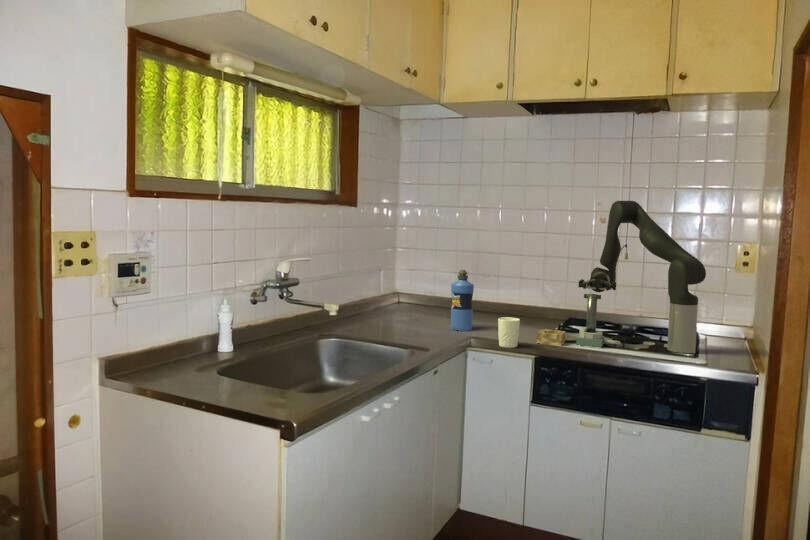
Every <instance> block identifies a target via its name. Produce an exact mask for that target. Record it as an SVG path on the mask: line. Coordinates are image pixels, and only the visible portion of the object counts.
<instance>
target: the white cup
mask: <svg viewBox="0 0 810 540" xmlns="http://www.w3.org/2000/svg"><path fill="white" fill-rule="evenodd" d="M520 323H521V320H520V318H517V317H511V316H510V317H507V316H505V317H504V316H503V317H499V318H498V319H497V331H498V335H497V336H498V345H499V347H502V348H509V349H511V348H512V349H513V348H517V347H518V346H519V345H518V343H519V338H520V337H519V334H520Z"/></svg>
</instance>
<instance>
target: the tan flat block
mask: <svg viewBox="0 0 810 540" xmlns="http://www.w3.org/2000/svg"><path fill="white" fill-rule="evenodd" d="M566 333H567V331H566V330H557V329H556V330H555V329H545V328H542V329H540V330H539V331H538V332H537V333H536V344H537V343H540V344H539V345H547V344H548V346H562V345H563V344H564V343H565V342H566Z"/></svg>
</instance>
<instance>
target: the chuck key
mask: <svg viewBox="0 0 810 540" xmlns="http://www.w3.org/2000/svg"><path fill="white" fill-rule="evenodd" d="M583 299H587V302H586V303H587V306H586V307H587V308H586V327H585V328H586V329H585V330H586V332H588V333H596V330H597V313H598V312H597V311H598V310H597V309H598V307H597V306H598V300H602V294H597V293H584V294H583Z"/></svg>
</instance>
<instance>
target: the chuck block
mask: <svg viewBox="0 0 810 540" xmlns="http://www.w3.org/2000/svg"><path fill="white" fill-rule="evenodd" d="M575 342H576V343H575V345H580V346H579V347H584V346H592V347H591V348H594V347H602V346H603V347H604V345H605V344H613V345H621V340H612V339H605V335H603V331H601V330H597V329H596V333H588V332H586V329H580V330H579V334H578V335H577V336H576V341H575ZM603 344H604V345H603ZM603 347H602V348H603Z"/></svg>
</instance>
